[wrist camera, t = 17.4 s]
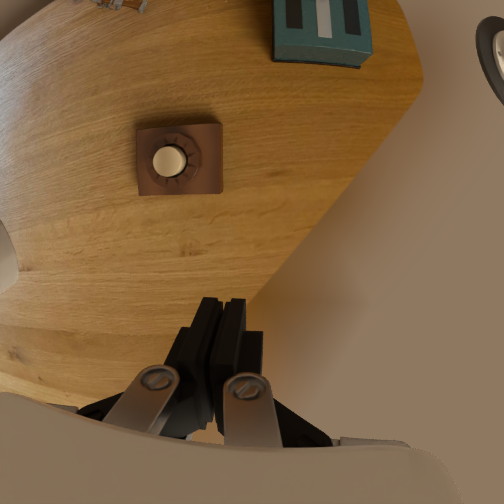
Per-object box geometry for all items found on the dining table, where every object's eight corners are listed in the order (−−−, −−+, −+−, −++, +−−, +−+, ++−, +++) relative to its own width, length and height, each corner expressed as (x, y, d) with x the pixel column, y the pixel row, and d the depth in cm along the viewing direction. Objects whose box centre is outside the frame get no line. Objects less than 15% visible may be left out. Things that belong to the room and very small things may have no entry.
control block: (222, 124, 32) (216, 121, 28) (223, 191, 35) (217, 196, 31) (143, 130, 33) (129, 129, 29) (145, 193, 36) (132, 198, 32)
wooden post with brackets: (96, 1, 25) (92, -10, 21) (146, 8, 29) (147, -2, 25) (91, 11, 26) (86, 1, 22) (141, 18, 29) (141, 9, 25)
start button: (185, 145, 30) (181, 145, 28) (186, 174, 31) (181, 176, 29) (158, 147, 30) (152, 147, 28) (159, 175, 31) (153, 177, 29)
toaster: (350, -20, 24) (361, -42, 18) (359, 69, 29) (375, 55, 23) (270, -28, 24) (270, -52, 19) (272, 62, 29) (272, 45, 24)
